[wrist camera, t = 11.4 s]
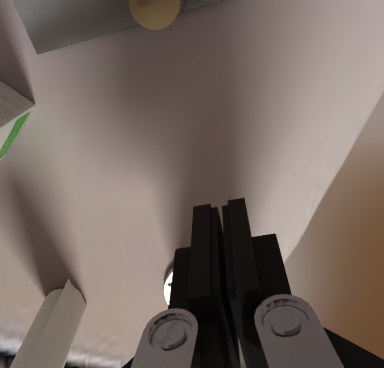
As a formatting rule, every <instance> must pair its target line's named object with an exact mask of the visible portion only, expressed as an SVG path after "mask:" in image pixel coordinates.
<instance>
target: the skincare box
mask: <svg viewBox="0 0 384 368" xmlns="http://www.w3.org/2000/svg"><path fill="white" fill-rule="evenodd" d="M34 107H35V104H34V103H33V102H31V101H30V100H28V99H27V98H25V97H24V96H22V95H21V94H19V93H18V92H16V91H15V90H13V89H12V88H11V87H9V86H8V85H6V84H5V83H3V82H2V81H0V160H1V159H2V158H3V157H5V156H6V155H7V153H8V151H9V150H10V148H11V146H12V145H13V143H14V141H15V140H16V138H17V136H18V134H19V133H20V131H21V129H22V127H23V126H24V124H25V122H26V120H27V119H28V117H29V115H30V114H31V112H32V110H33V109H34Z"/></svg>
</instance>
